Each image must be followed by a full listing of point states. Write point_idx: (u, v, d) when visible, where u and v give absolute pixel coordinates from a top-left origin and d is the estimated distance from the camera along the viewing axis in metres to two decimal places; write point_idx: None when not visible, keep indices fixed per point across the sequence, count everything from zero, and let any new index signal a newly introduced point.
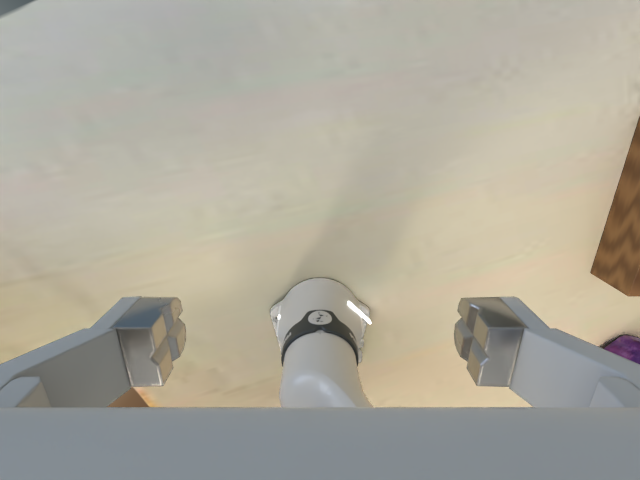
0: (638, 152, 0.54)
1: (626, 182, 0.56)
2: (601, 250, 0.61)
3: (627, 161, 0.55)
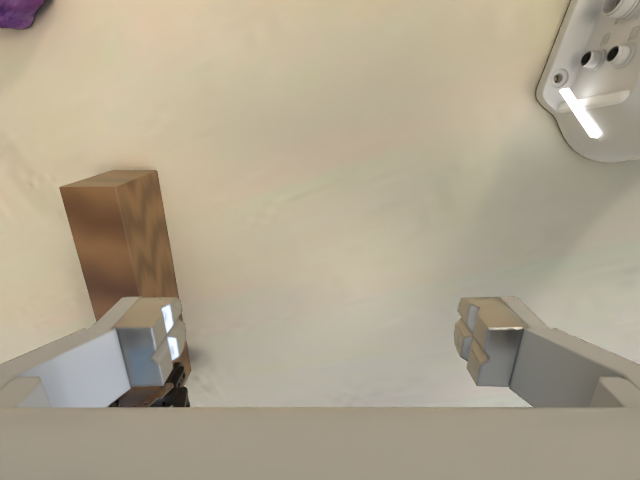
0: None
1: None
2: (161, 214, 0.39)
3: None
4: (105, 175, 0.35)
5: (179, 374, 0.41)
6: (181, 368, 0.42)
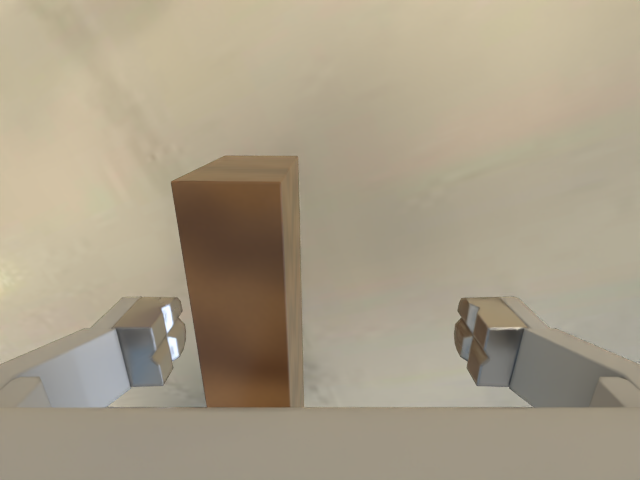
0: None
1: (301, 372, 0.28)
2: (298, 228, 0.24)
3: (303, 392, 0.30)
4: (226, 162, 0.20)
5: None
6: None
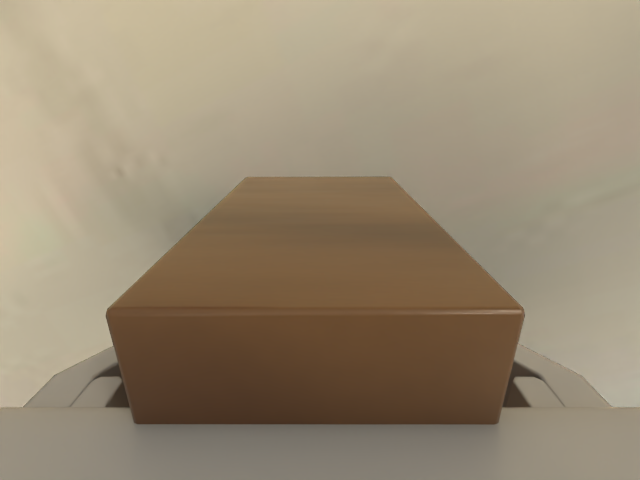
0: None
1: None
2: None
3: None
4: (261, 197, 0.09)
5: None
6: None
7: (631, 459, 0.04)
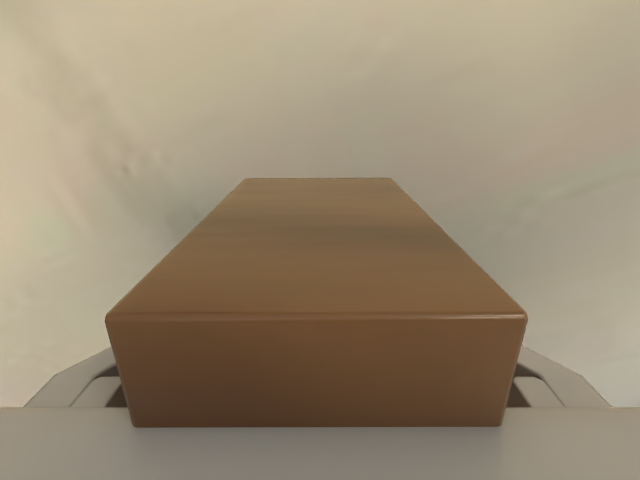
0: None
1: None
2: None
3: None
4: (261, 199, 0.09)
5: None
6: None
7: (631, 459, 0.04)
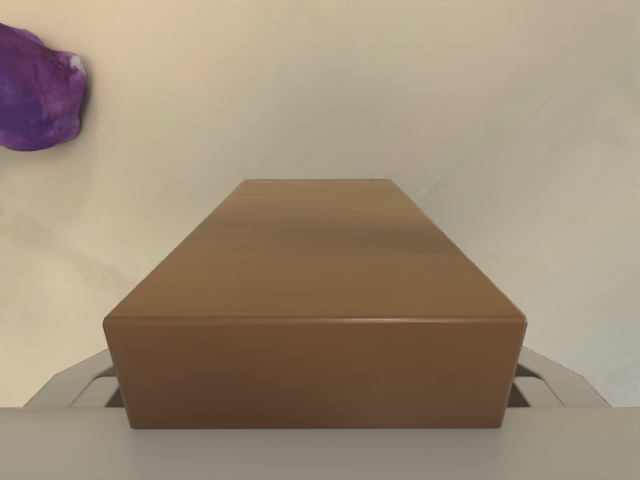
0: None
1: None
2: None
3: None
4: (260, 201, 0.09)
5: None
6: None
7: (631, 459, 0.04)
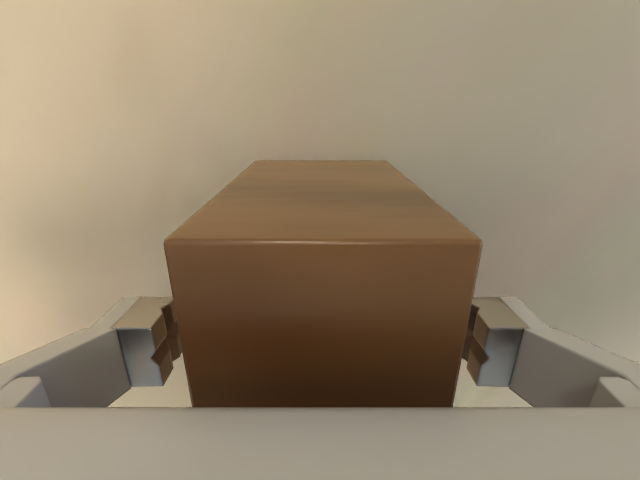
0: None
1: None
2: None
3: None
4: (272, 174, 0.10)
5: None
6: None
7: (631, 459, 0.04)
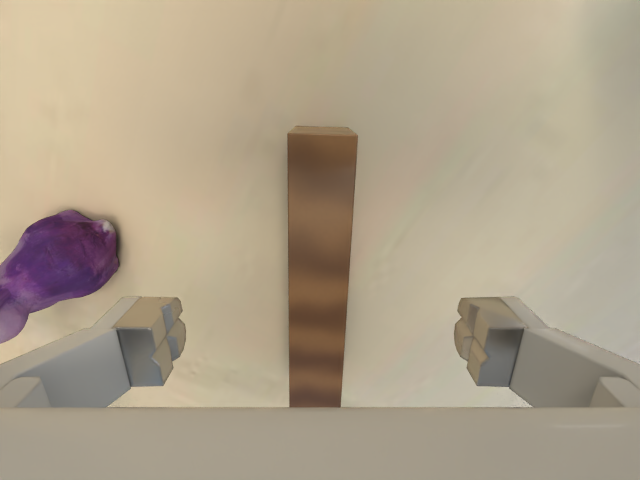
0: None
1: None
2: None
3: None
4: (305, 128, 0.29)
5: None
6: None
7: (631, 459, 0.04)
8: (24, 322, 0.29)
